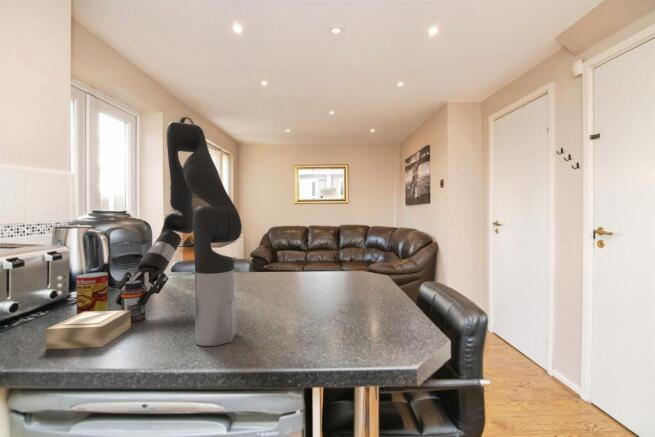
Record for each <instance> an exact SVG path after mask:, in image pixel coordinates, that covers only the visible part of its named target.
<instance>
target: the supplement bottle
mask: <svg viewBox="0 0 655 437" xmlns="http://www.w3.org/2000/svg"><path fill="white" fill-rule="evenodd" d="M125 287H126V288H125V289H124V290H123V291H122V293H121V303H122V305H121V311H122V310H131V323H135V322H140V321H141V320H144V319H145V318H146V304H145V305H144V306H139V305H138V304H137V302H138V300H139V299H140V297H141V295H142V294H143V292H146V291H145V287H143V286H142V287H141V281H129V282H126V283H125Z"/></svg>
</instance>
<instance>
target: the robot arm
mask: <svg viewBox="0 0 655 437" xmlns="http://www.w3.org/2000/svg"><path fill="white" fill-rule="evenodd" d="M166 147H167V148H166V149H167V160H168V169H169V177H170V179H169V180H170V202H169V203H170V206H171V208H173V209H175V210H177V211H178V212H177V211H170V212H169V213H167V214H166V215H165V218H164V221H163V224H162V228H161V232H160V234H159V235H158V237H157V238H156V240H155V242H154V243H153V244H152V246H150V247H149V249H148V251H147V252H146V254H145V255H144V257H143V258H142V259H141V261H140V262H139V264H138V270H136V271H135V272H134V273H131V272H129V271H127V272H125V274H124V275H123V277H122V278H121V279H120V282H119V283H118V285H117V289H118V290H119V291H120V293H119V294H118V295H117V297H116V298H115V303H116V305H118V306H122V303H121V293H122V291H123V290H124V289H125V288H126V287H125V283H126V282H129V281H141V287H142V288H144V289H145V292H143V294H142V295H141V297H140V299H139V300H138V302H137V304H138V305H139V306H144V305H145V306H146V304H147V303H148V301H149V300H150V298H151V296H153V295H155V294H156V295H159V294H160V293H161V291H162V290H163V288H164V286H165V285H166V284H167V282H168V280H169V277H168V275H167V274H166V273H165V272H166V269H167V268H168V266H169V265H170V263H171V261H172V259H173V257H174V255H175V252H177V249H178V247H179V246H180V245H181V242H182V238H181V235H180V234H187V235H188V234H189V235H190V234H191V233H192V234H193V236H192V237H193V256H194V322H195V325H194V326H195V328H194V329H195V330H194V331H195V333H194V335H195V336H194V337H195V343H196V345H199V346H202V347H215V346H220V345H223V344H227V343H232V342H233V341H234V338H235V336H236V335H237V332H238V331H237V330H238V329H237V328H238V327H237V325H238V324H237V296H235V260H234V258H233V257H231V256H227V255H225V254H222V253H218V252H216V251H214V250H213V248H212V244H218V243H219V244H223V243H231V242H235V241H237V240H239V238H240V236H241V234H242V220H241V217H240V214H239V211H238V209H237V208H236V206H235V204H234V202H233V200H232V199H231V197H230V196H229V194H228V192H227V191H226V188H225V186H224V183H223V182H222V179H221V177H220V173H219V170H218V169H217V167H216V165H215V162H214V160H213V157H212V156H211V153H210V150H209V147H208V143H207V140H206V136H205V132H204V130H203V129H202V128H201V126H200V125H197V124H193V123H186V122H180V121H179V122H178V121H170V122H169V123H168V125H167V128H166ZM179 152H185V153H191V154H190V155H189V156H188V157H187V158H186V159H185V161H184V163H183V165H182V164H181V162H180V157H179ZM193 194H194V195H195V196H197V197H198V198H199V199H201V201H203V202H205V203H206V204H208V205H201V206H200V205H199V206H197V207H196V208H195V209H194V206H193ZM178 233H180V234H178Z"/></svg>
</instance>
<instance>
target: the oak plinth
mask: <svg viewBox="0 0 655 437" xmlns="http://www.w3.org/2000/svg"><path fill="white" fill-rule="evenodd" d="M131 324H132V322H131V310H122V309H121V310H107V311H94V312H82V313H80V314H78V315H77V314H76V315H74V316H71V317H69V318H67V319H65V320H63V321H61V322H58V323H56V324H54V325H52V326H50V327H47V328H46V329H45V332H46V333H45V334H46V335H45V338H46V339H45V341H46V343H45V345H46V350H63V349H64V350H65V349H83V348H84V349H85V348H86V349H87V348H103V347H104V346H106V345H107V344H108V343H110V342H112V341H113V340H114V339H116V338H117V337H119V336H121V335H122V334H123V333H125V332H126V331H128V330H129V329H131V327H132V325H131Z"/></svg>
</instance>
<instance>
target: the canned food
mask: <svg viewBox="0 0 655 437" xmlns="http://www.w3.org/2000/svg"><path fill="white" fill-rule="evenodd" d="M94 311H109V274H108V272H90V273H83V274H79V275H76V315H78V314H80V313H82V312H94Z"/></svg>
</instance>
